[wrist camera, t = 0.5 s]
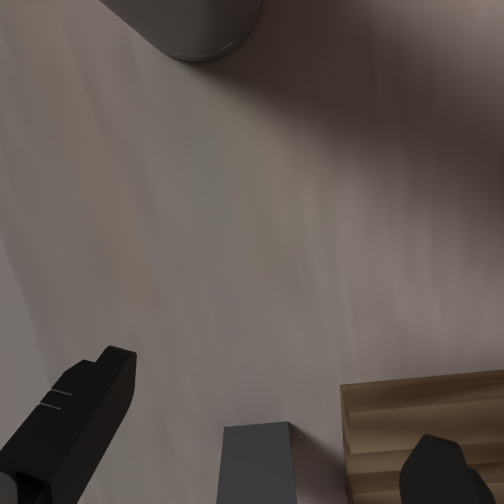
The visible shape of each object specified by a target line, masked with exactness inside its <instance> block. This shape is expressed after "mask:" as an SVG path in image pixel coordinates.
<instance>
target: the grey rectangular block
mask: <svg viewBox="0 0 504 504" xmlns="http://www.w3.org/2000/svg"><path fill="white" fill-rule="evenodd" d="M216 504H297V498H296V489H295V480H294V471H293V462H292V453H291V444H290V435H289V426H288V422H278V423H266V424H255V425H244V426H233V427H224V435H223V445H222V454H221V464H220V473H219V482H218V492H217V501H216Z"/></svg>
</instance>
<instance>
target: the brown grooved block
mask: <svg viewBox="0 0 504 504" xmlns="http://www.w3.org/2000/svg"><path fill="white" fill-rule="evenodd" d="M340 393H341V411H342V429H343V447H344V464H345V482H346V495H347V499H348V503H349V504H402V502H401V497H400V491H399V477H400V472H401V469H402V466H403V464H404V463H405V461H406V460H407V458H408V457H409V455H410V454H411V452H412V451H413V449H414V448H415V446H416V445H417V443H418V442H419V440H420V439H421V437H422V436H423V435H424V434H430V435H433V436H437V437H441V438H444V439H448V440H451V441H455V442H457V443H458V444H459V446H460V447H461V450H462V452H463V455H464V458H465V460H466V463H467V466H468V468H471V469H475V470H477V472H478V473H479V475H480V476H481V478H482V479H483V480H484V482H485V483H486V485H487V486H488V487H489V489H490V490H491V492H492V493H493V496H494V498H495V501H496V504H504V370H498V371H487V372H476V373H465V374H455V375H444V376H433V377H423V378H412V379H401V380H391V381H380V382H369V383H358V384H348V385H340Z"/></svg>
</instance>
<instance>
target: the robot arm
mask: <svg viewBox="0 0 504 504" xmlns="http://www.w3.org/2000/svg"><path fill="white" fill-rule="evenodd" d="M99 1H101V2H102V3H103V4H104V5H105V6H107V7H108V8H109V9H110V10H111V11H113V12H114V13H115V14H116V15H117V16H119V17H120V18H121V19H122V20H123V21H125V22H126V23H127V24H128V25H129V26H131V27H132V28H133V29H134V30H135V31H136V32H138V33H139V34H140V35H141V36H142V37H144V38H145V39H146V40H147V41H148V42H150V43H151V44H152V45H153V46H155V47H156V48H157V49H159V50H160V51H161V52H163V53H165V54H167V55H169V56H171V57H173V58H175V59H179V60H183V61H188V62H206V61H209V60H213V59H217V58H220V57H222V56H223V55H225V54H227V53H229V52H231V51H232V50H233V49H235V48H236V47H237V46H238V45H239V44H240V43H242V42H243V40H244V39H245V38H246V36H247V35H248V34H249V32H250V31H251V30H252V28H253V26H254V24H255V22H256V20H257V18H258V16H259V12H260V8H261V5H262V1H263V0H99ZM136 361H137V354H136V352H132V351H129V350H125V349H121V348H118V347H114V346H108V347H107V348H106V349H105V350H104V351H103V353H102V354H101V355H100V357H99V358H98V359H97V361H96V362H91V361H88V360H82V361H80V362H79V363H77V364H76V365H74V366H73V367H71V368H70V369H68V370H66V371H65V372H64V373H63V374H62V376H61V377H60V378H59V379H58V381H57V382H56V383H55V384H54V385H53V387H52V388H51V391H49V392H48V393H47V394H46V395H45V397H44V398H43V399H42V400H41V401H40V404H39V405H37V406H36V408H35V409H34V410H33V411H32V412H31V414H30V415H29V416H28V417H27V419H26V420H25V421H24V422H23V424H22V425H21V426H20V427H19V428H18V430H17V431H16V432H15V434H14V435H13V436H12V437H11V438H10V439H9V441H8V442H7V443H6V444H5V446H4V447H3V448H2V449H1V451H0V504H77V502H78V501H79V499H80V497H81V495H82V493H83V492H84V490H85V488H86V486H87V484H88V482H89V481H90V479H91V477H92V475H93V473H94V471H95V470H96V468H97V466H98V464H99V462H100V460H101V459H102V457H103V455H104V453H105V451H106V450H107V448H108V446H109V444H110V442H111V440H112V439H113V437H114V435H115V433H116V431H117V429H118V428H119V426H120V424H121V422H122V420H123V418H124V417H125V415H126V413H127V411H128V409H129V406H130V404H131V401H132V398H133V394H134V389H135V375H136ZM399 491H400V497H401V502H402V504H496V501H495V498H494V496H493V493H492V492H491V490H490V489H489V487H488V486H487V485H486V483H485V482H484V480H483V479H482V478H481V476H480V475H479V473H478V472H477V470H475V469H471V468H468V466H467V463H466V460H465V458H464V455H463V452H462V450H461V447H460V446H459V444H458V443H457V442H455V441H451V440H448V439H444V438H441V437H437V436H433V435H430V434H424V435H423V436H422V437H421V439H420V440H419V442H418V443H417V445H416V446H415V448H414V449H413V451H412V452H411V454H410V455H409V457H408V458H407V460H406V461H405V463H404V464H403V466H402V469H401V472H400V477H399Z"/></svg>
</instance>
